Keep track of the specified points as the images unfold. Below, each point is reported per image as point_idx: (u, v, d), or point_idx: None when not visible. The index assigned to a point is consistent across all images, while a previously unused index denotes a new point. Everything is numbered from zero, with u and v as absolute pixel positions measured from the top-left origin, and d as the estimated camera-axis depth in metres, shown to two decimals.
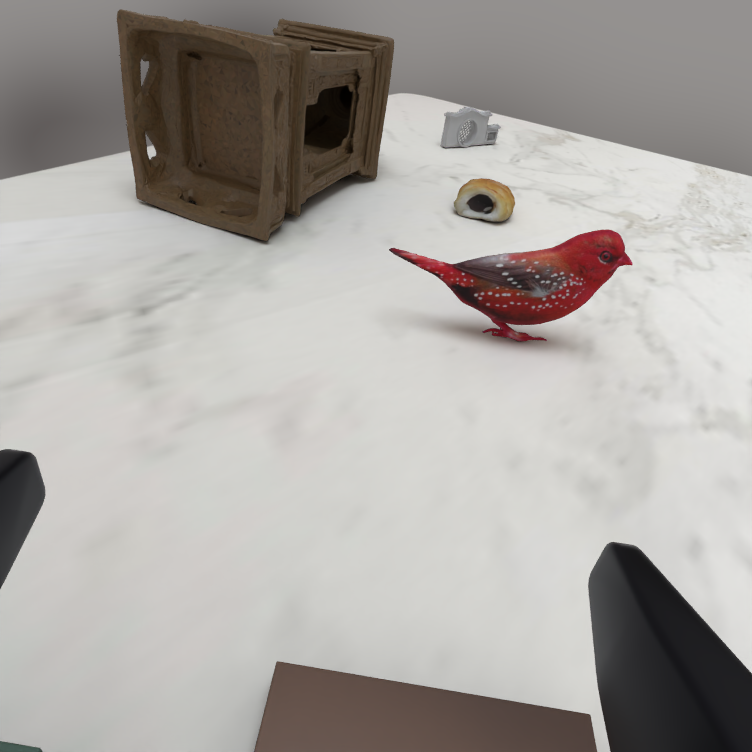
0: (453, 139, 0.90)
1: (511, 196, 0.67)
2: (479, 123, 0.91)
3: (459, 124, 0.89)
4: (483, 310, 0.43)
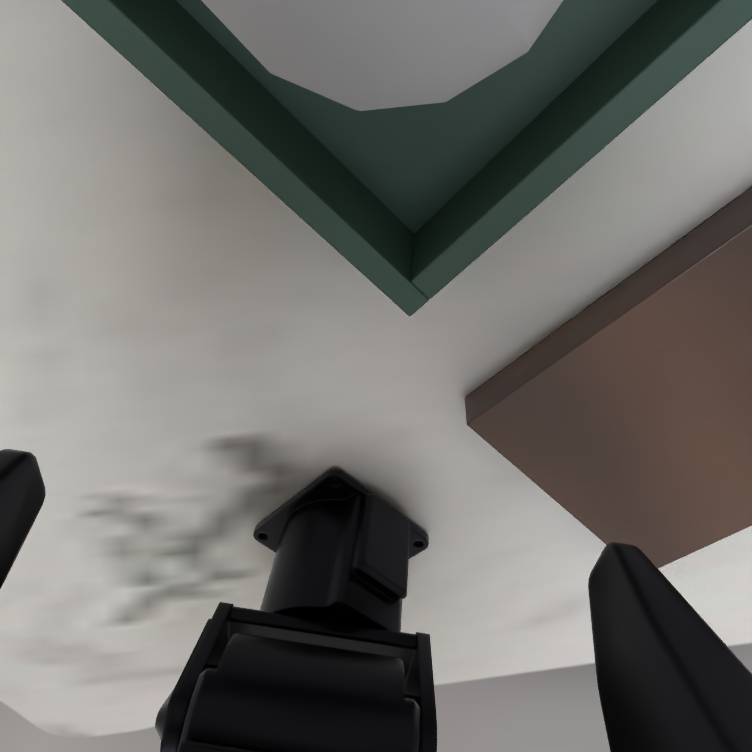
0: None
1: None
2: None
3: None
4: None
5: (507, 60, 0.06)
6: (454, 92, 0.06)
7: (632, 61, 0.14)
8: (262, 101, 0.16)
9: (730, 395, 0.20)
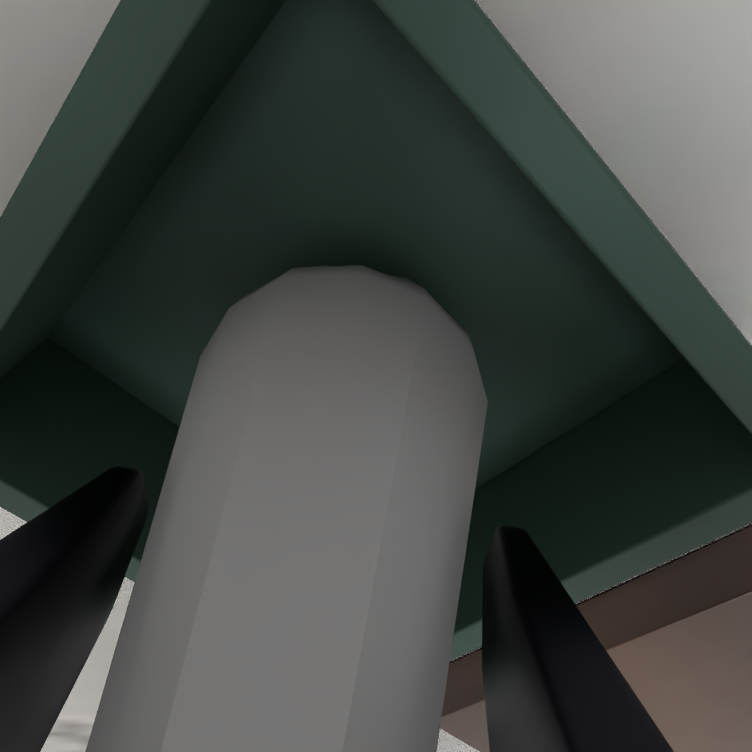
0: None
1: None
2: None
3: None
4: None
5: None
6: None
7: (590, 517, 0.12)
8: None
9: (709, 718, 0.19)
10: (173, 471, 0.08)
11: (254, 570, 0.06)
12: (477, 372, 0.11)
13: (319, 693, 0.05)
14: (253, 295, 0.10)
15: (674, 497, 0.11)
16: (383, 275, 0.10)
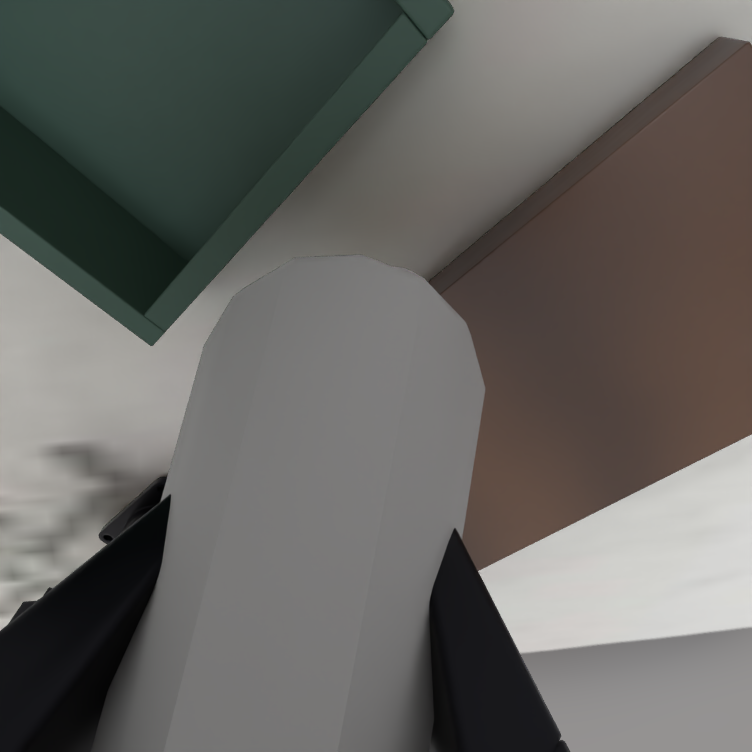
0: None
1: None
2: None
3: None
4: None
5: None
6: None
7: None
8: (8, 142, 0.17)
9: (492, 420, 0.21)
10: (180, 453, 0.09)
11: (261, 543, 0.06)
12: (475, 359, 0.11)
13: (323, 656, 0.05)
14: (256, 284, 0.10)
15: None
16: (383, 264, 0.10)
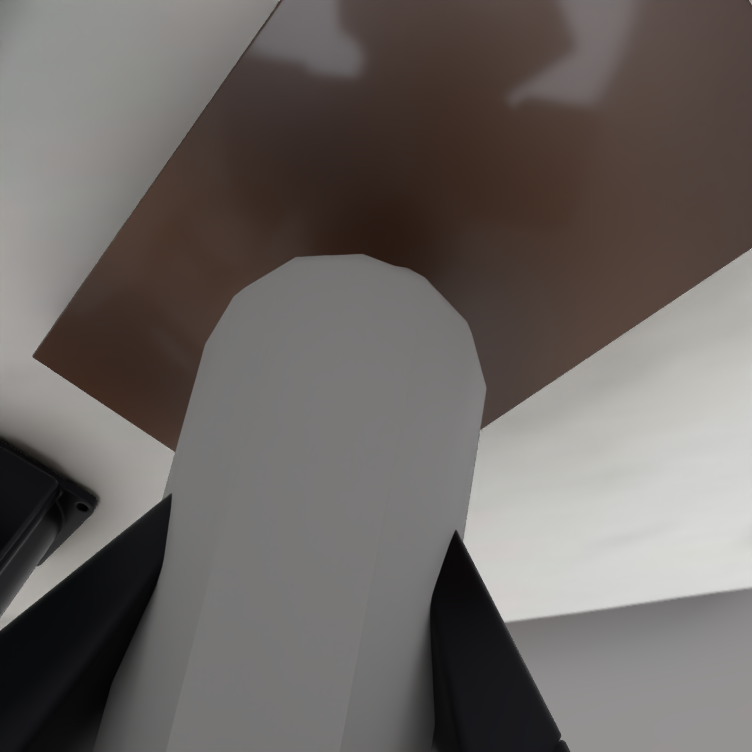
0: None
1: None
2: None
3: None
4: None
5: None
6: None
7: None
8: None
9: None
10: (181, 453, 0.09)
11: (263, 542, 0.06)
12: (476, 358, 0.11)
13: (325, 655, 0.05)
14: (257, 283, 0.10)
15: None
16: (384, 264, 0.10)
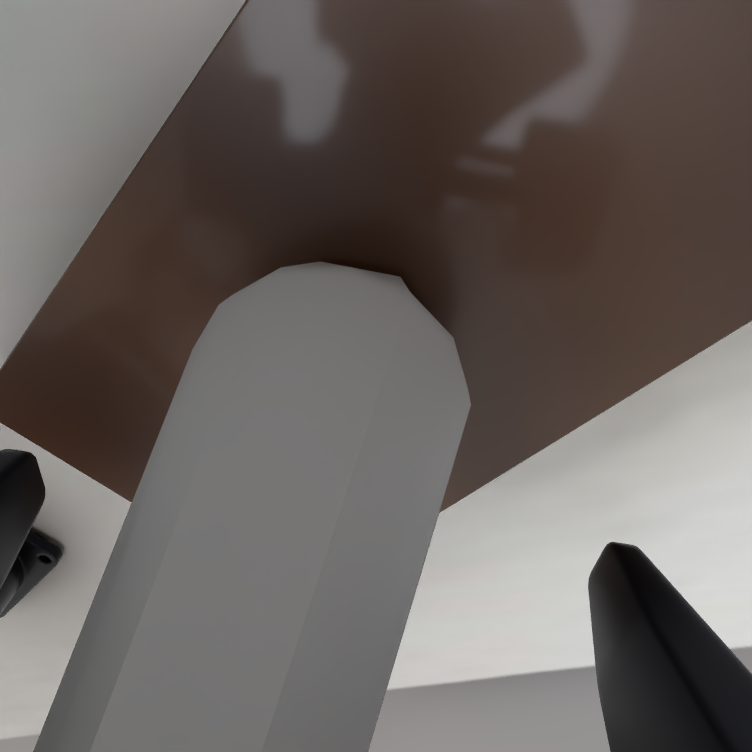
0: None
1: None
2: None
3: None
4: None
5: None
6: None
7: None
8: None
9: None
10: (152, 464, 0.09)
11: (203, 570, 0.06)
12: (459, 376, 0.11)
13: (248, 692, 0.06)
14: (241, 293, 0.10)
15: None
16: (368, 277, 0.10)
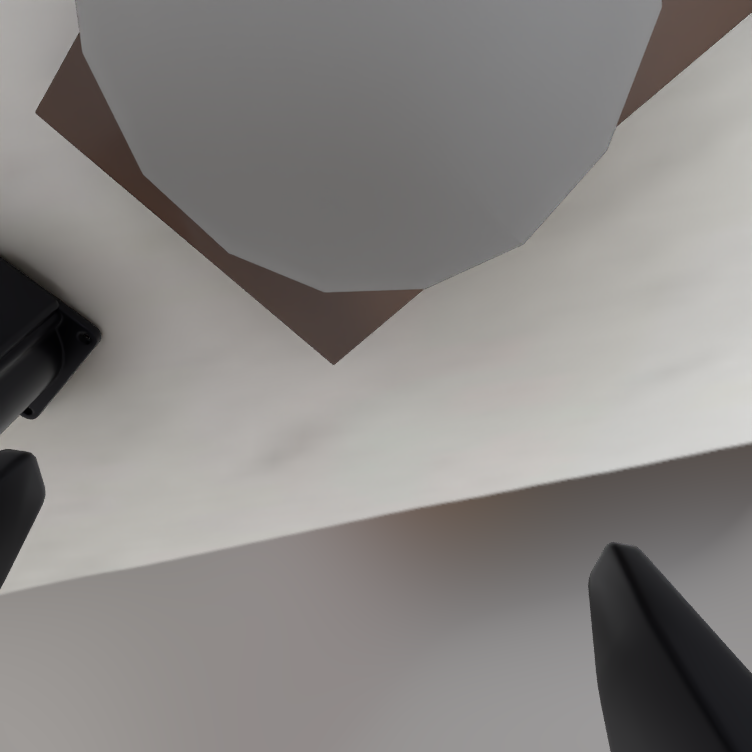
0: None
1: None
2: None
3: None
4: None
5: (498, 254, 0.05)
6: (437, 281, 0.05)
7: None
8: None
9: None
10: None
11: None
12: None
13: None
14: None
15: None
16: None
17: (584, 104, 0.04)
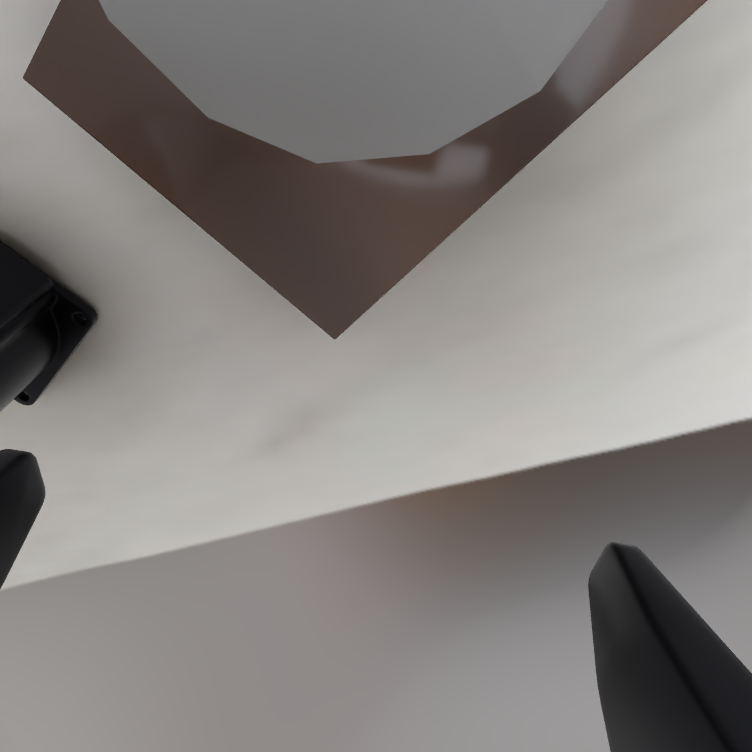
0: None
1: None
2: None
3: None
4: None
5: (511, 106, 0.04)
6: (443, 144, 0.04)
7: None
8: None
9: None
10: None
11: None
12: None
13: None
14: None
15: None
16: None
17: None
